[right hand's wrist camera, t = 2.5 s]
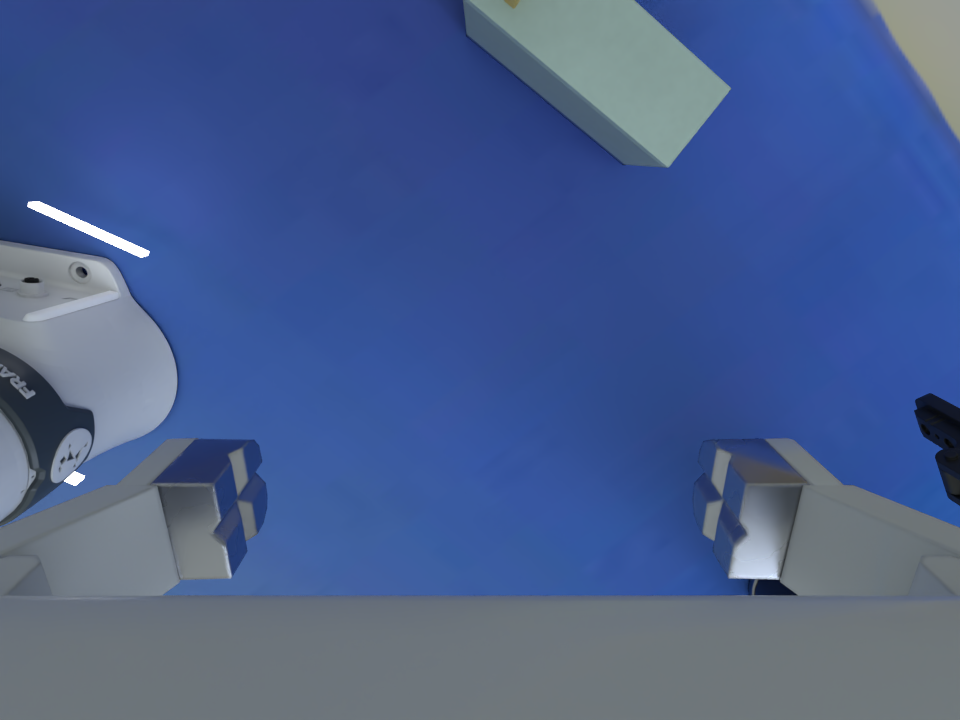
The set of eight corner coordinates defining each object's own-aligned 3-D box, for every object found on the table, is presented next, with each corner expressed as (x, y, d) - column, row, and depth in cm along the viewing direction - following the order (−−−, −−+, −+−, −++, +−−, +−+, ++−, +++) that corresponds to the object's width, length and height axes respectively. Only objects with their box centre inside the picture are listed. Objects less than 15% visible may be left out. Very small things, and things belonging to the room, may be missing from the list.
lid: (450, -12, 28) (439, -74, 21) (507, -108, 27) (518, -212, 19) (663, 167, 31) (723, 171, 24) (725, 90, 30) (810, 67, 22)
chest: (466, 36, 38) (462, -1, 29) (510, -34, 36) (520, -96, 27) (622, 165, 40) (663, 168, 31) (669, 105, 39) (725, 90, 30)
